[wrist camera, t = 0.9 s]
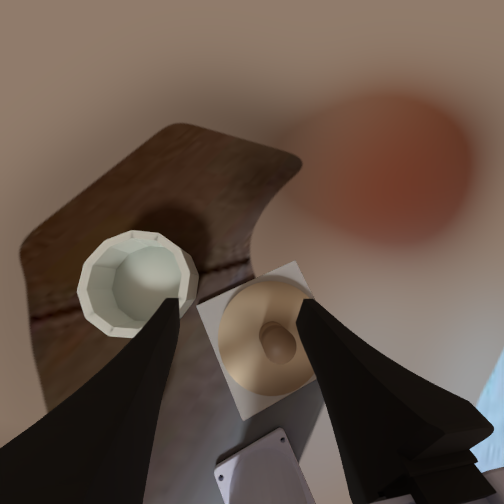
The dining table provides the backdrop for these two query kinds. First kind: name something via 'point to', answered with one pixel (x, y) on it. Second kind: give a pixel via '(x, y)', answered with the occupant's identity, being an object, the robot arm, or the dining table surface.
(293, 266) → the mat
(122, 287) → the bowl
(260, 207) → the dining table surface
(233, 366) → the lid
